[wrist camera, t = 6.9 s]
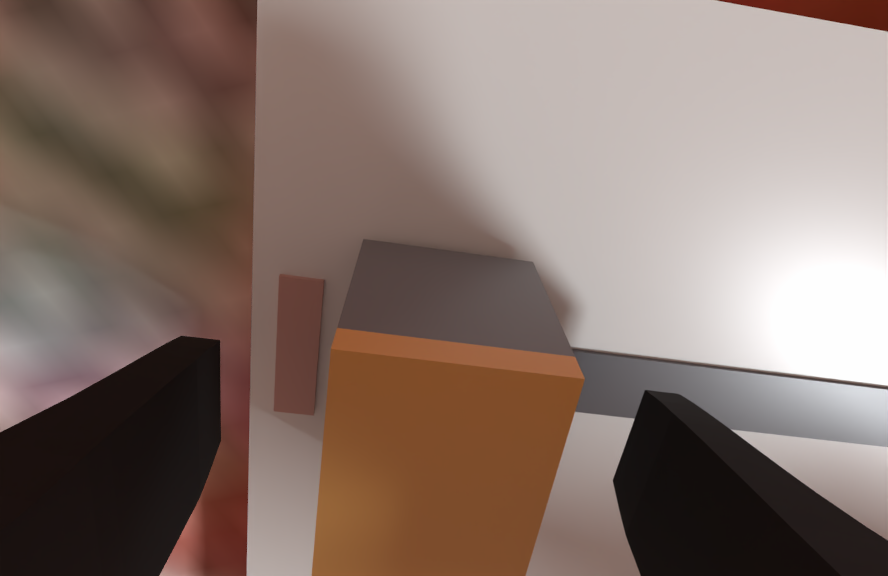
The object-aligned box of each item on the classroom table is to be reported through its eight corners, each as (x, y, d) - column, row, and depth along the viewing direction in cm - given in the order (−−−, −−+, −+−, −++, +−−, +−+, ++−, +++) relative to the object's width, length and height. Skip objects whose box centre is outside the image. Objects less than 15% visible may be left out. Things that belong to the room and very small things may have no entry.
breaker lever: (532, 261, 10) (584, 379, 7) (482, 478, 12) (502, 650, 9) (363, 238, 10) (330, 348, 7) (340, 463, 12) (306, 635, 9)
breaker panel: (1151, 91, 12) (1760, 148, 6) (746, 735, 20) (856, 980, 15) (289, -64, 10) (137, -160, 5) (260, 703, 19) (196, 964, 14)
